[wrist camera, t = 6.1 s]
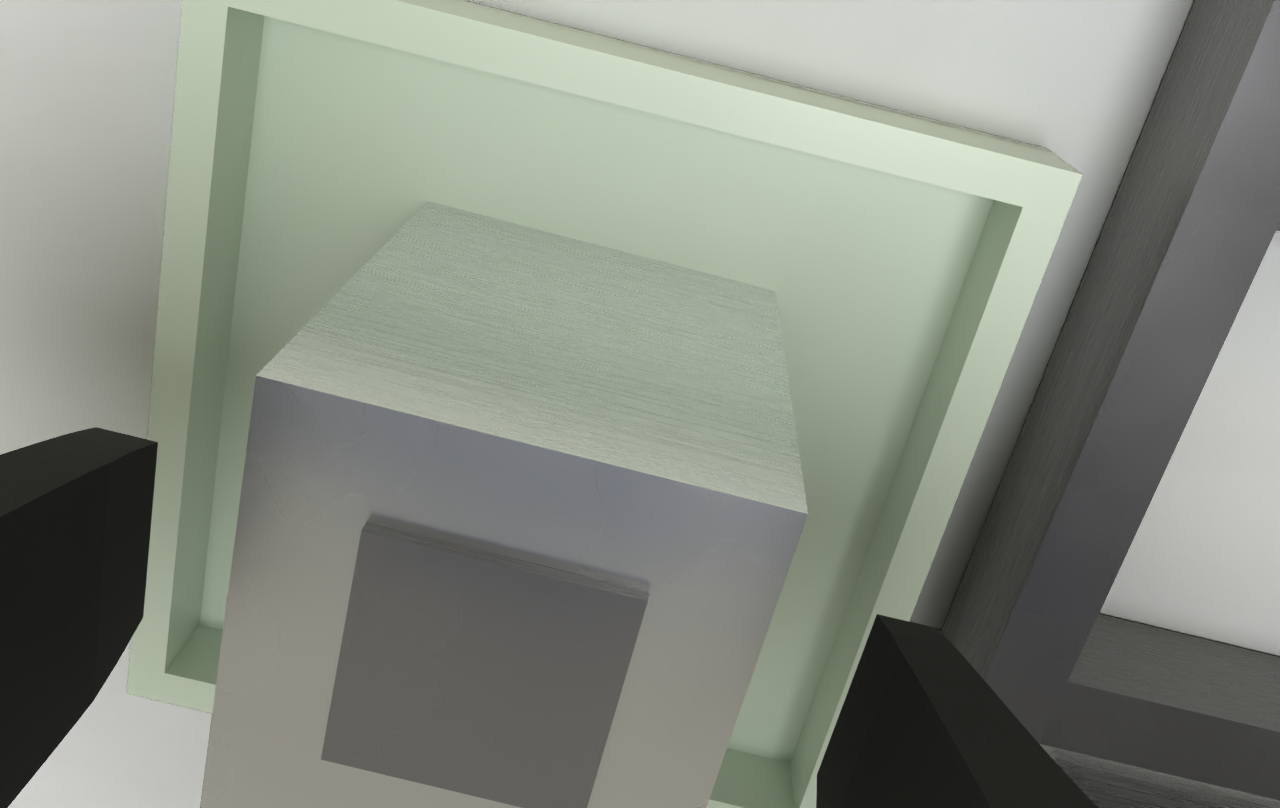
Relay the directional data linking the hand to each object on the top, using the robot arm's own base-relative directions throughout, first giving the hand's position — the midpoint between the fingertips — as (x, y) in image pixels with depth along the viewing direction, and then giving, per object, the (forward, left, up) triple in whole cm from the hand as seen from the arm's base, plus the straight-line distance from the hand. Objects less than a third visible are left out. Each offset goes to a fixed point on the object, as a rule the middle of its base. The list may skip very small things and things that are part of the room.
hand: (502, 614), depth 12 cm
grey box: (0, 0, -5) cm, 5 cm away
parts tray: (0, 0, -5) cm, 5 cm away
